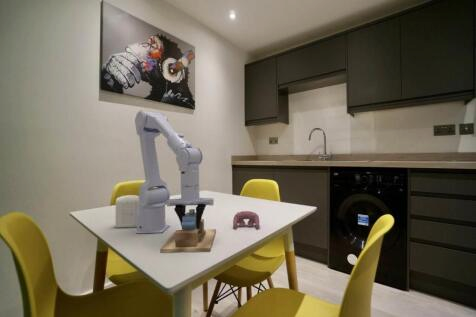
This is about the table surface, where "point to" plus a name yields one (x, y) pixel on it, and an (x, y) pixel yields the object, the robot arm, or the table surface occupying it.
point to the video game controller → (246, 215)
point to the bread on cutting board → (190, 240)
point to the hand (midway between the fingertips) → (191, 228)
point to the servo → (189, 220)
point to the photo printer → (127, 211)
